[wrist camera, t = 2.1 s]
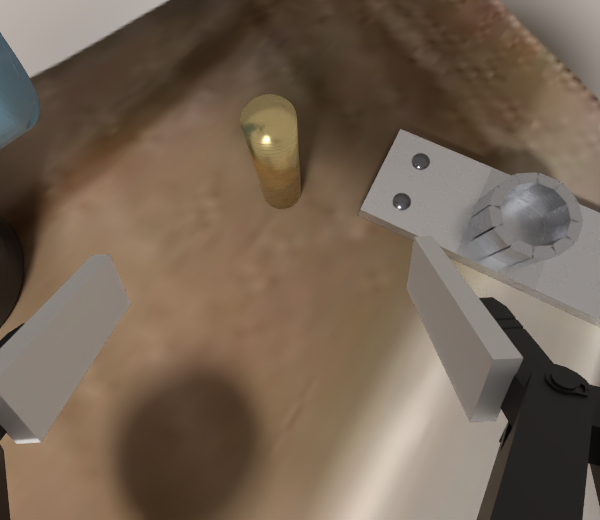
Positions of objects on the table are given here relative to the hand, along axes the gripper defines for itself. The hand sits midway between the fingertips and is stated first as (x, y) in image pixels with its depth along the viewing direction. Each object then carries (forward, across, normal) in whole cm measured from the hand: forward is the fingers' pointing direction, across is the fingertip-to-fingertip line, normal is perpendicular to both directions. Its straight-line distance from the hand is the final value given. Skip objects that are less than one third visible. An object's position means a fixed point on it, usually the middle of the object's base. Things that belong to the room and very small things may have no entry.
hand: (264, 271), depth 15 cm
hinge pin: (+18, 0, -3) cm, 19 cm away
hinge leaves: (+15, +20, -7) cm, 26 cm away
